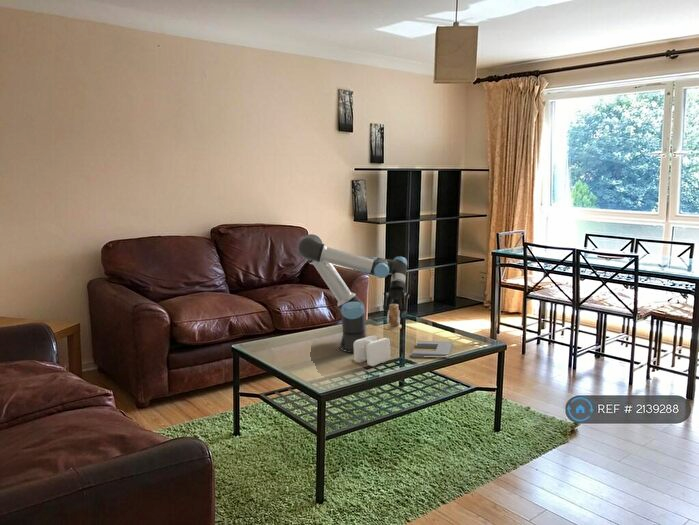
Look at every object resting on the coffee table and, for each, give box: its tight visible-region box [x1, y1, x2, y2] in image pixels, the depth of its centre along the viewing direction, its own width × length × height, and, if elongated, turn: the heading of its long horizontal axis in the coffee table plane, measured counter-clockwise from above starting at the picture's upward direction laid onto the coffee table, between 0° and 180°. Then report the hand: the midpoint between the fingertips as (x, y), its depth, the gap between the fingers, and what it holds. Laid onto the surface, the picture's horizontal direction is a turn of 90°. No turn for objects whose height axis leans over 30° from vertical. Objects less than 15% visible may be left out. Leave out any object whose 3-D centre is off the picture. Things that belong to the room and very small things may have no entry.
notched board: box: [411, 340, 454, 358], centre depth 290 cm, size 18×20×2 cm
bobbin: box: [387, 303, 402, 331], centre depth 292 cm, size 7×7×12 cm
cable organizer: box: [353, 334, 391, 367], centre depth 278 cm, size 15×11×12 cm
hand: (393, 322), depth 289 cm, fingers closed on bobbin, 4 cm apart
